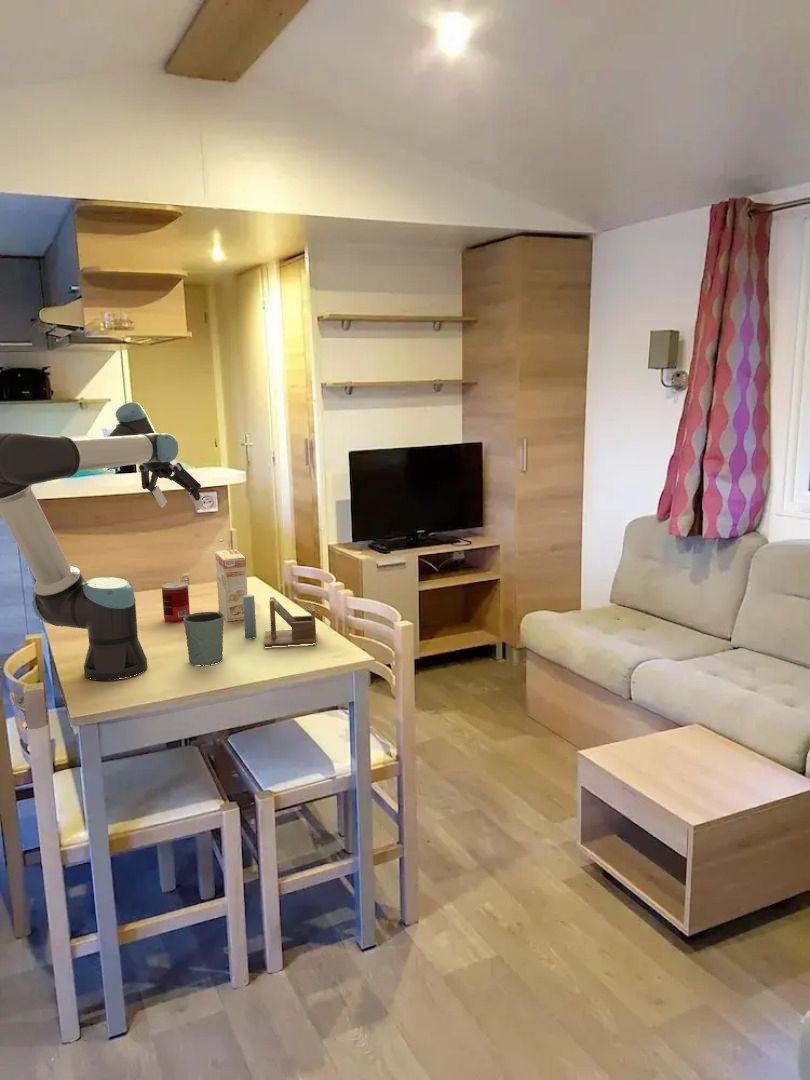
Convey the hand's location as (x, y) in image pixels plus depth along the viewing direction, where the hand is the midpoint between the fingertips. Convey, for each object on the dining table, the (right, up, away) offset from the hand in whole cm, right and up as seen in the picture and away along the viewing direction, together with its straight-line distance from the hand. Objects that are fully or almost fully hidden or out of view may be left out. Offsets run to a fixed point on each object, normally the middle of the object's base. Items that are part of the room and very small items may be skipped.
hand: (182, 505), depth 247 cm
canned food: (-2, -35, +4) cm, 35 cm away
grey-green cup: (+16, -42, -35) cm, 57 cm away
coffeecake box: (+14, -34, +8) cm, 38 cm away
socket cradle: (+36, -39, -19) cm, 56 cm away
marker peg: (+24, -38, -15) cm, 48 cm away
